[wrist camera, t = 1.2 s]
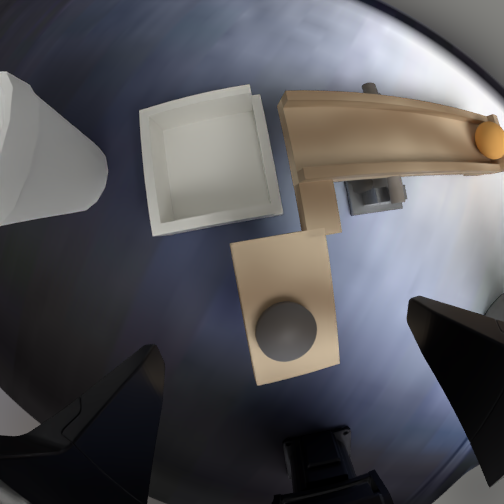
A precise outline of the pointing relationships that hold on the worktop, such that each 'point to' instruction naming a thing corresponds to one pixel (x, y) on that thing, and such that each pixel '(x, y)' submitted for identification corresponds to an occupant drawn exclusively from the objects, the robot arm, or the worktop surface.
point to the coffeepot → (497, 309)
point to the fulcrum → (370, 196)
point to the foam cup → (43, 158)
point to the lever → (326, 210)
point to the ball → (490, 140)
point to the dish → (208, 161)
